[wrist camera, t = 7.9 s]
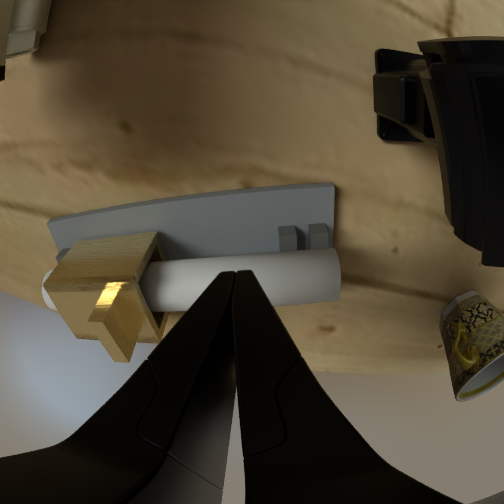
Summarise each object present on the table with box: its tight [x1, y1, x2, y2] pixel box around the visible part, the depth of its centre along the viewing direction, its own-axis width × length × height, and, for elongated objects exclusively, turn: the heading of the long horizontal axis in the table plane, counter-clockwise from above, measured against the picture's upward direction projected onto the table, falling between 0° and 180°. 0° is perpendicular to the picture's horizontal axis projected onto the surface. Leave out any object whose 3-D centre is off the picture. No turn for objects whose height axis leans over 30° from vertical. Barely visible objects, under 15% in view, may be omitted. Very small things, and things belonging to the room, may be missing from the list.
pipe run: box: [42, 182, 341, 312], centre depth 21 cm, size 24×10×6 cm, turn 96°
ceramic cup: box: [439, 290, 504, 402], centre depth 23 cm, size 13×10×10 cm
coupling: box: [43, 231, 170, 363], centre depth 19 cm, size 8×6×8 cm
